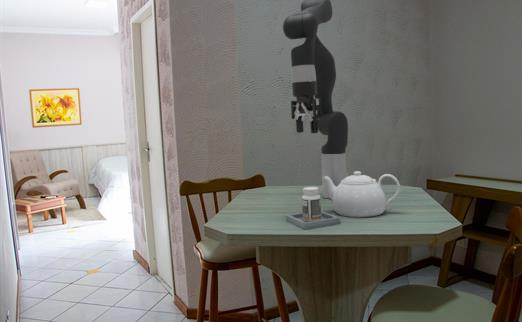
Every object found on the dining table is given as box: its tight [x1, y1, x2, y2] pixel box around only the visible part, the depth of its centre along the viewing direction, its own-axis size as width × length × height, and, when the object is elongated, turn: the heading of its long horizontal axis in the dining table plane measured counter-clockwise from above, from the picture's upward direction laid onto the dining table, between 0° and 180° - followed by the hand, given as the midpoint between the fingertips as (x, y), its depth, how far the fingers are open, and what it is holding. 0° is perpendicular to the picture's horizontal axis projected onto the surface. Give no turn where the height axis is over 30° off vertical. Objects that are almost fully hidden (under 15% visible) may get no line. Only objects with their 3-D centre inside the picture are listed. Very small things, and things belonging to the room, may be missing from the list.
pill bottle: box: [301, 186, 322, 222], centre depth 129 cm, size 6×6×10 cm
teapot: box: [320, 170, 401, 218], centre depth 139 cm, size 19×18×14 cm
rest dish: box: [285, 210, 341, 230], centre depth 129 cm, size 12×12×2 cm
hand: (307, 132), depth 134 cm, fingers open, 8 cm apart
